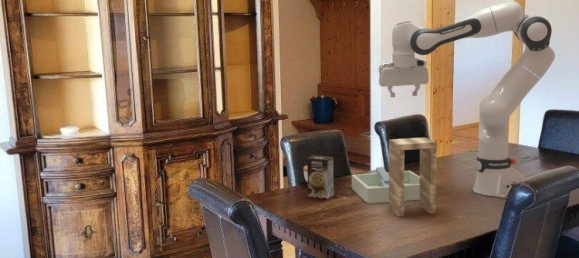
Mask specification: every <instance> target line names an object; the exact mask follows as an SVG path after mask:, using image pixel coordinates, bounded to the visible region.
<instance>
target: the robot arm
mask: <svg viewBox="0 0 579 258" xmlns="http://www.w3.org/2000/svg"><path fill="white" fill-rule="evenodd" d="M549 21H550V20H549ZM549 21H548V19H546V18H545V17H543V16H539V15H528V14H526V13H525V10H524V8H523V6H522V5H521V4H520V3H519V2H517V1H507V2H502V3H497V4H496V3H495V4H493V5H490V6H487V7H484V8H482V9H479V10H477V11H475V12H473V13H470V14H469V15H468V16H467V17H465V18H464V19H463V20H460V21H458V22H454V23H452V24H449V25H446V26H443V27H442V26H441V27H438V28H426V27H423V26H420V25H418V24H416V23H414V22H413V21H411V20H410V21H409V20H408V21H403V22H399V23H397V24H395V25H394V27H393V28H392V34H391V35H392V38H391V46H392V54H391V55H392V57H391V58H392V59H391V60H392V61H391V63H390V62H389V63H388V62H387V63H382V64H381V65H379V67H378V74H379V77H378V84H379V86H380V87H387V90H388V92H389V94H390V95H389V96H390V98H395V97H396V93H395V92H393V87H399V86H401V87H402V86H414V87H415V89H414V90H413V91H411V93H412V97H417V96H418V92H419V91H420V90H419V89H420V88H421V85H428V83H429V70H428V68H427V67H426V66H427V61H426V60H423V59H419V58H417V57H416V56H415V54H417V55H420V56H426V55H427V56H428V55H429V54H432V53H433V52H434V51H435V50H437V48H439V47H441V46H443V45H445V44H449V43H451V42H452V43H453V42H455V41H458V40H462V39H470V38H471V39H472V38H473V39H478V38H481V39H482V38H487V37H492V36H496V35H500V34H502V33H507V32H513V33H514V35H515V36H516V38H517V40H518V41H519V42H521V43H523V44H524V47H525V48H524V51H523V53H522V55H521V56H520V57H519V58H518V59H517V60H516V61H515V63H513V65H512V66H511V67H510V68H509V70H508V71H507V72H506V73H505V74H504V75H503V76H502V78H501V79H500V81H499V82H498V83H497V85H495V87H494V89H493V90H491V92H490V93H489V94H487V95H486V96H484V97H483V98H482V100H481V101H480V103H479V111H478V112H479V114H478V115H479V116H478V117H479V119H478V143H477V144H478V149H477V150H478V151H477V152H478V153H477V157H476V176H475V181H474V186H473V188H472V191H473V192H474V193H476V194H478V195H483V196H489V197H497V198H502V199H503V198H507V197H506V196H507V194H508V192H509V190H510V188H511V187H512V186H513V185H514V184H516V183H518V182H520V181H522V180H524V179H525V180H526V178H525V176H524V175H523V174H522V173H520V172H519V171H518V170H516V168H514V167H513V166H512V165H516V164H517V159H516V158H515V159H514V158H510V157H509V156H508V151H509V150H508V148H509V119H510V116H511V115H512V114H513V113H514V112H515V111H516V110H517V108H518V107H519V106H520V104H521V103H522V102H523V100H524V99H525V97H526V96H527V95H528V94H529V92H530V91H531V90H532V89H533V88H534V87H535V86H536V85H537V84H538V83H539V82H540V81H541V79H542V78H543V77H544V75H545V74H546V73H547V71H548V70H549V69H550V68H551V66H552V65H553V62H554V61H555V59H556V54H555V51H554V50H553V49H552V47H550V42H551V38H552V32H553V30H552V25H551V23H550V22H549Z"/></svg>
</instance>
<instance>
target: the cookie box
mask: <svg viewBox="0 0 579 258" xmlns="http://www.w3.org/2000/svg"><path fill="white" fill-rule="evenodd" d="M306 161H307V163H306V164H307V165H306V166H307V172H308V182H307V197H308V198H316V197H318V198H317V199H323V198H326V200H328V199H330V198H332V197H333V196H334V157H333V156H323V155H315V154H313V155H311V156H309V157H307V160H306ZM331 196H332V197H331ZM329 197H330V198H329Z"/></svg>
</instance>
